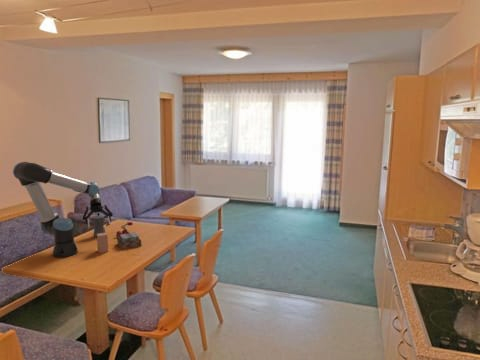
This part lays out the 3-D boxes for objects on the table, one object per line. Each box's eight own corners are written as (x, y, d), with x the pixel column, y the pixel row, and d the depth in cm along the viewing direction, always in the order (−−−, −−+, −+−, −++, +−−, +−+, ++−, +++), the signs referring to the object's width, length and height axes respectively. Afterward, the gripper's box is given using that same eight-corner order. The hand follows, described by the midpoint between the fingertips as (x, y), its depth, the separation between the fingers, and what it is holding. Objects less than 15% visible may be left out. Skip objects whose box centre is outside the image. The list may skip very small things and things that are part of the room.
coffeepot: (90, 238, 277) (89, 215, 274) (90, 235, 285) (89, 212, 283) (112, 235, 282) (110, 213, 280) (111, 232, 291) (110, 210, 288)
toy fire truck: (115, 237, 279) (115, 225, 278) (130, 233, 290) (130, 221, 288) (118, 238, 277) (117, 225, 276) (133, 233, 288) (132, 221, 286)
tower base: (121, 249, 252) (120, 239, 251) (117, 243, 264) (117, 234, 263) (141, 245, 258) (141, 236, 257) (137, 240, 270) (136, 231, 269)
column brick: (99, 253, 244) (97, 236, 242) (97, 250, 250) (96, 233, 248) (108, 251, 247) (107, 234, 245) (107, 249, 252) (105, 232, 251)
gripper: (112, 202, 275) (117, 226, 264) (76, 206, 263) (80, 231, 252) (113, 196, 269) (118, 220, 258) (76, 200, 258) (80, 225, 247)
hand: (99, 225), depth 255 cm, fingers open, 13 cm apart
